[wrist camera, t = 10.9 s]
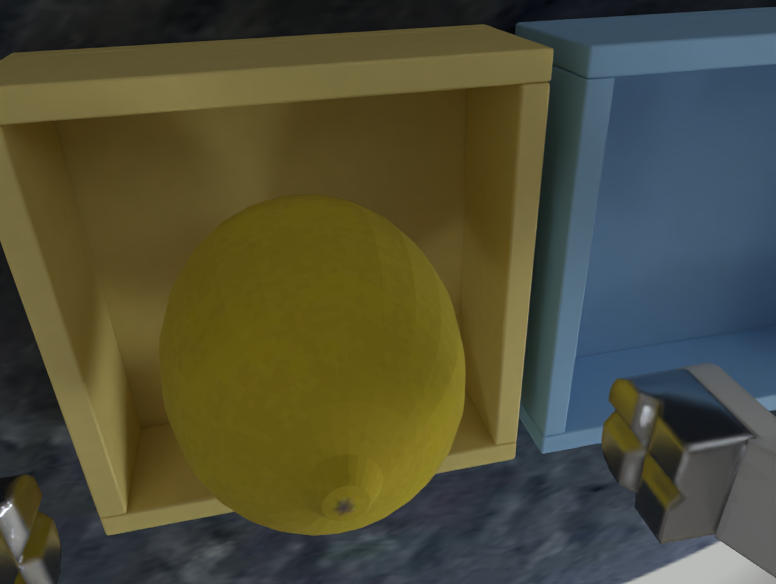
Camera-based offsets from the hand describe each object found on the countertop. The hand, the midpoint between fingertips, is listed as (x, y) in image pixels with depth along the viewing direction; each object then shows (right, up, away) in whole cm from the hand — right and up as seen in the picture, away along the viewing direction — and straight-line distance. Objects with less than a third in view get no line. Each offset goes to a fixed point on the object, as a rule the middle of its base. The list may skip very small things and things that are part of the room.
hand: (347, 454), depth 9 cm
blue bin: (+8, +5, +9) cm, 13 cm away
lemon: (-2, +3, +7) cm, 8 cm away
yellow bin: (-2, +3, +7) cm, 8 cm away
